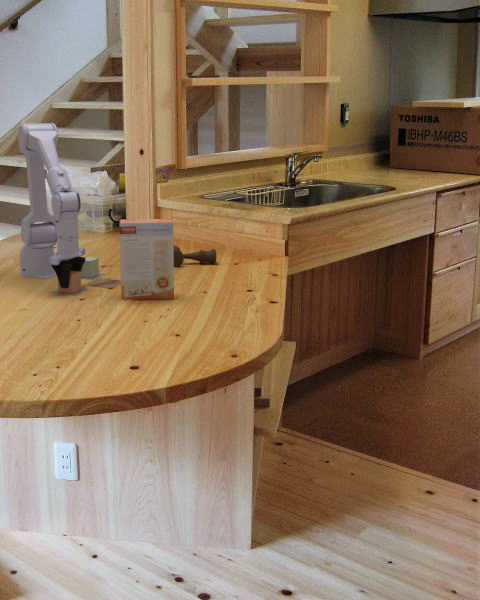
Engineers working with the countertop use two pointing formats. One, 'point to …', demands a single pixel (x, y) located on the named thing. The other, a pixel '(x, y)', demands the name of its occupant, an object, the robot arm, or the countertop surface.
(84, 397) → the countertop surface
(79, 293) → the tile
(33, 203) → the robot arm
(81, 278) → the gray coaster
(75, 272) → the rust block
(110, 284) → the walnut coaster
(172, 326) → the countertop surface
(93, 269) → the sage block
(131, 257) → the cracker box
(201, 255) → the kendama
